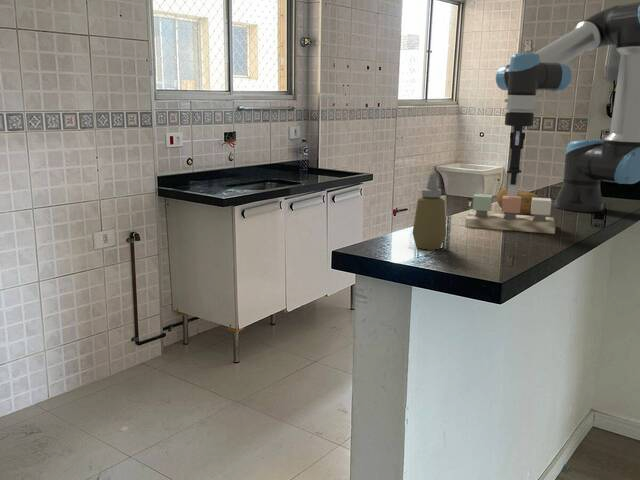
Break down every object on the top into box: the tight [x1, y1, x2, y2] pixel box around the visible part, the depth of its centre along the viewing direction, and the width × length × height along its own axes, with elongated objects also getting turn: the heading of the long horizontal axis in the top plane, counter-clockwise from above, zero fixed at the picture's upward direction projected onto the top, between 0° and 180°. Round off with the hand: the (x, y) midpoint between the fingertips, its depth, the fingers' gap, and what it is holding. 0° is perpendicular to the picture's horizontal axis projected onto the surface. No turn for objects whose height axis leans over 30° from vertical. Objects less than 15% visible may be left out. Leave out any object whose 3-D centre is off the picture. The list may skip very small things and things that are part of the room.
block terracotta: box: [501, 196, 521, 219], centre depth 173 cm, size 5×5×6 cm
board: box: [464, 211, 556, 235], centre depth 174 cm, size 24×12×2 cm, turn 72°
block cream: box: [530, 197, 552, 222], centre depth 170 cm, size 5×5×6 cm
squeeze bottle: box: [412, 173, 447, 251], centre depth 144 cm, size 8×8×18 cm
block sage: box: [472, 193, 493, 217], centre depth 175 cm, size 5×5×6 cm
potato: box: [496, 188, 541, 216], centre depth 191 cm, size 10×14×8 cm
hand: (511, 195), depth 172 cm, fingers closed
